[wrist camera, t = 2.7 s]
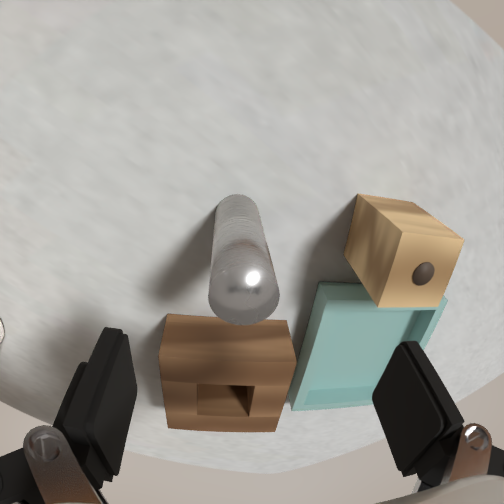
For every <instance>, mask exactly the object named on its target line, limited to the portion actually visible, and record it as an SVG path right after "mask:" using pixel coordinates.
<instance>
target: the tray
mask: <svg viewBox="0 0 504 504" xmlns="http://www.w3.org/2000/svg"><path fill="white" fill-rule="evenodd" d="M447 301H448V300H447V299H446V298H445V296H444V295H443V297H442V299H441V301H440V304H439V306H438V307H390V308H378V307H377V306H376V304H375V303H374V301H373V299H372V298H371V296H370V295H369V293H368V292H367V290H366V288H365V287H364V285H363V284H362V283H339V282H319V284H318V288H317V292H316V296H315V300H314V304H313V308H312V311H311V315H310V319H309V323H308V326H307V330H306V334H305V337H304V341H303V344H302V348H301V351H300V355H299V358H298V362H297V365H296V368H295V372H294V375H293V378H292V382H291V385H290V388H289V391H288V395H289V400H290V405H291V411H306V410H322V409H335V408H345V407H355V406H364V405H372V404H373V401H372V393H373V391H374V389H375V387H376V386H377V384H378V382H379V380H380V378H381V376H382V374H383V372H384V370H385V368H386V366H387V364H388V362H389V360H390V358H391V356H392V354H393V352H394V350H395V348H396V346H398V345H399V344H400V343H401V342H402V341H417V342H418V343H419V345H420V346H421V348H422V349H423V350H424V348H425V346H426V345H427V343H428V341H429V339H430V337H431V335H432V333H433V331H434V329H435V327H436V325H437V323H438V321H439V319H440V317H441V314H442V312H443V310H444V308H445V306H446V304H447Z"/></svg>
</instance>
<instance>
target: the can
mask: <svg viewBox="0 0 504 504" xmlns="http://www.w3.org/2000/svg"><path fill="white" fill-rule="evenodd" d="M3 337H4V329H3V324H2V321H1V319H0V343H1V341H2V340H3Z"/></svg>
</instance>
